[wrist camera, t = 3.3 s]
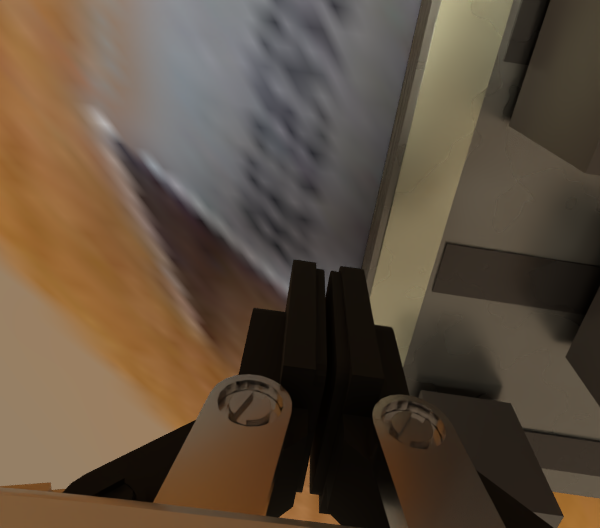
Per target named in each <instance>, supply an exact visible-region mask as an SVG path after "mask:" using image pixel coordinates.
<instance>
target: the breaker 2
mask: <svg viewBox="0 0 600 528" xmlns="http://www.w3.org/2000/svg"><path fill="white" fill-rule="evenodd" d="M509 126H510V127H511V128H513V129H515V130H516V131H518V132H519V133H521V134H523V135H524V136H526V137H527V138H529V139H531V140H532V141H534V142H535V143H537V144H539V145H540V146H542V147H544V148H545V149H547V150H548V151H550V152H552V153H553V154H555V155H556V156H558V157H560V158H561V159H563V160H564V161H566V162H568V163H569V164H571V165H572V166H574V167H576V168H577V169H579V170H580V171H582V172H584V173H585V174H592V175H598V176H600V0H550V3H549V6H548V9H547V12H546V15H545V18H544V21H543V24H542V27H541V30H540V33H539V36H538V39H537V42H536V45H535V48H534V51H533V54H532V57H531V60H530V63H529V66H528V69H527V72H526V75H525V78H524V81H523V84H522V87H521V90H520V93H519V96H518V99H517V102H516V105H515V108H514V111H513V114H512V117H511V120H510V123H509Z"/></svg>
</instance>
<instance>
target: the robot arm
mask: <svg viewBox="0 0 600 528" xmlns="http://www.w3.org/2000/svg"><path fill="white" fill-rule="evenodd" d="M309 457H310V494H317V495H319V513H323V514H331V515H332V516H333V517H334V518H335V519H336V520H337V521H338V522H339V523H340V524H341V525H335V524H327V523H318V522H310V521H302V520H294V519H286V518H278V517H280V516H281V515H282V514H284V513H285V512H286V511H288V510H289V509H290V508H292V507H293V504H294V499H295V494H296V492H301V493H302V490H303V486H304V481H305V476H306V471H307V467H308V462H309ZM0 528H553V527H552V526H551V525H549V524H548V523H547V522H545V521H544V520H543V519H541V518H540V517H539V516H537V515H536V514H535V513H533V512H532V511H531V510H529V509H528V508H527V507H525V506H524V505H523V504H521V503H520V502H519V501H517V500H516V499H515V498H513V497H512V496H511V495H509V494H508V493H507V492H505V491H504V490H502V489H501V488H500V487H498V486H497V485H496V484H494V483H493V482H492V481H490V480H489V479H488V478H486V477H485V476H484V475H482V474H481V473H480V472H478V471H477V470H476V469H475V467H474V465H473V464H472V462H471V460H470V458H469V456H468V454H467V452H466V450H465V448H464V446H463V444H462V442H461V440H460V439H459V437H458V435H457V433H456V431H455V429H454V427H453V425H452V423H451V422H450V421H449V419H448V418H447V416H446V415H445V414H444V413H443V412H442V411H440V410H439V409H438V408H437V407H436V406H434V405H432V404H431V403H429V402H427V401H425V400H423V399H420V398H417V397H414V396H410V394H409V390H408V386H407V382H406V378H405V374H404V370H403V366H402V362H401V358H400V354H399V350H398V346H397V342H396V338H395V334H394V330H393V328H392V327H389V326H381V325H374V320H373V314H372V309H371V304H370V298H369V293H368V288H367V282H366V277H365V272H364V269H357V268H350V267H343V266H341V267H340V269H339V272H336V271H331V272H330V276H329V282H328V287H327V292H326V297H325V274H324V270H322V269H316V263H315V262H308V261H301V260H293V265H292V272H291V278H290V285H289V291H288V298H287V304H286V311H285V312H280V311H273V310H266V309H258V308H254V309H253V312H252V317H251V321H250V326H249V330H248V335H247V339H246V344H245V348H244V353H243V357H242V362H241V367H240V371H239V375H236V376H233V377H230V378H226V379H225V380H223V381H221V382H220V383H218V384H217V385H216V386H215V387H214V389H213V390H212V391H211V392H210V394H209V396H208V398H207V400H206V402H205V404H204V406H203V408H202V410H201V412H200V413H199V415H198V417H197V419H196V420H195V421H192V422H190V423H188V424H186V425H184V426H182V427H180V428H178V429H176V430H174V431H172V432H170V433H168V434H166V435H164V436H162V437H160V438H158V439H156V440H154V441H152V442H150V443H148V444H146V445H144V446H142V447H140V448H138V449H136V450H134V451H132V452H129V453H127V454H126V455H123V456H121V457H119V458H117V459H115V460H113V461H111V462H109V463H107V464H105V465H103V466H101V467H99V468H97V469H95V470H93V471H91V472H89V473H87V474H85V475H84V476H82V477H80V478H79V479H77V480H76V481H74V482H72V483H71V484H70V485H69V486H68V487H67V488H66V489H58V490H51V483H38V484H25V485H11V486H0Z"/></svg>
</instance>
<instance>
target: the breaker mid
mask: <svg viewBox="0 0 600 528" xmlns="http://www.w3.org/2000/svg"><path fill="white" fill-rule="evenodd" d="M565 357H566V359H567V360H568V362H569V363H570V365H571V366H572V367H573V369H574V370H575V372H576V373H577V375H578V376H579V378H580V379H581V381H582V382H583V383H584V385H585V386H586V388H587V389H588V391H589V392H590V394H591V395H592V396H593V398H594V399H595V401H596V402H597V404H598V405H599V407H600V287H599V289H598V291H597V293H596V295H595V297H594V299H593V301H592V303H591V305H590V307H589V309H588V311H587V313H586V315H585V317H584V320H583V322H582V324H581V326H580V328H579V330H578V332H577V334H576V336H575V338H574V340H573V342H572V344H571V346H570V348H569V350H568V352H567V354H566V356H565Z"/></svg>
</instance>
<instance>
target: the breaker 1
mask: <svg viewBox="0 0 600 528" xmlns="http://www.w3.org/2000/svg"><path fill="white" fill-rule="evenodd" d="M419 398H420V399H423V400H425V401H427V402H429V403H431V404H432V405H434V406H436V407H437V408H438V409H439V410H440V411H442V412H443V413H444V414H445V415H446V416H447V418H448V419H449V421H450V422H451V423H452V425H453V427H454V429H455V431H456V433H457V435H458V437H459V439H460V440H461V442H462V444H463V446H464V448H465V450H466V452H467V454H468V456H469V458H470V460H471V462H472V464H473V465H474V467H475V469H476V470H477V471H478V472H480V473H481V474H482V475H484V476H485V477H486V478H488V479H489V480H490V481H492V482H493V483H494V484H496V485H497V486H498V487H500V488H501V489H502V490H504V491H505V492H507V493H508V494H509V495H511V496H512V497H513V498H515V499H516V500H517V501H519V502H520V503H521V504H523V505H524V506H525V507H527V508H528V509H529V510H531V511H532V512H533V513H535V514H536V515H537V516H539V517H540V518H541V519H543V520H544V521H545V522H547V523H548V524H549V525H551V526H552V527H553V528H557V527H558V525H559V524H560V522H561V520H562V519H563V517H564V516H563V514H562V512H561V509H560V507H559V505H558V503H557V501H556V499H555V497H554V494H553V492H552V490H551V488H550V486H549V484H548V482H547V479H546V477H545V475H544V473H543V471H542V469H541V467H540V464H539V462H538V460H537V458H536V456H535V454H534V452H533V449H532V447H531V445H530V443H529V441H528V439H527V437H526V435H525V432H524V430H523V428H522V426H521V424H520V422H519V420H518V417H517V415H516V413H515V411H514V409H513V407H512V405H511V403H507V402H500V401H493V400H486V399H479V398H473V397H466V396H459V395H452V394H445V393H439V392H432V391H425V390H421V392H420V395H419Z"/></svg>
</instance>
